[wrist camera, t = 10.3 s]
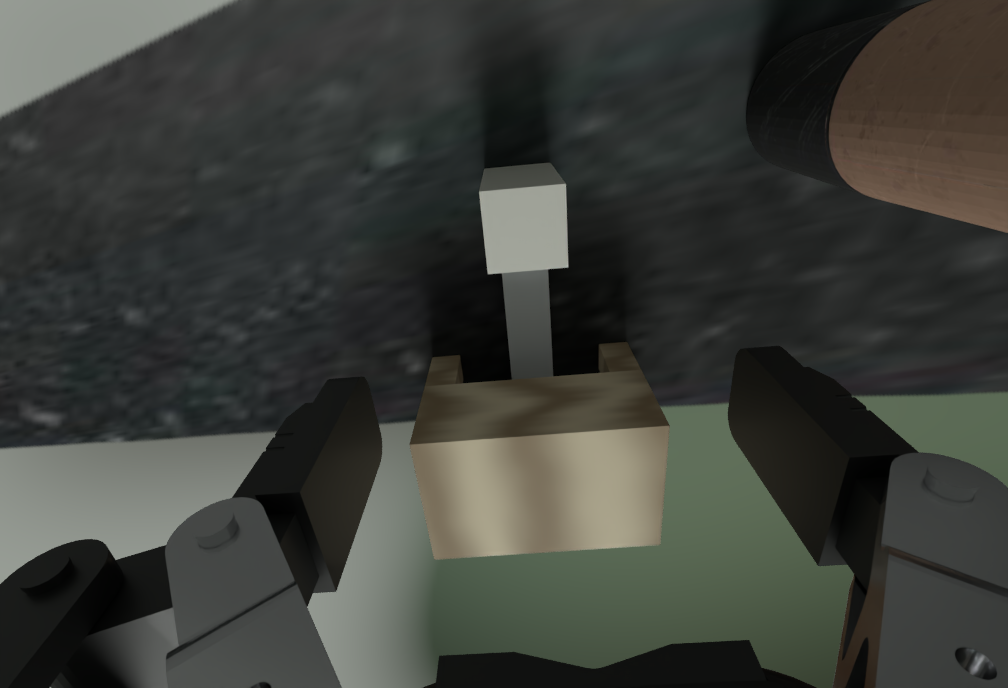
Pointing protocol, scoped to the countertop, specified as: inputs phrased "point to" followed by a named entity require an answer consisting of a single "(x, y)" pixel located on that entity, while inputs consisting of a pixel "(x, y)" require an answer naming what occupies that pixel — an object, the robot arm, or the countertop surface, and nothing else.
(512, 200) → the grey l-shaped block
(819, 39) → the travel mug
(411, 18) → the countertop surface
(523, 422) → the notched wooden block
